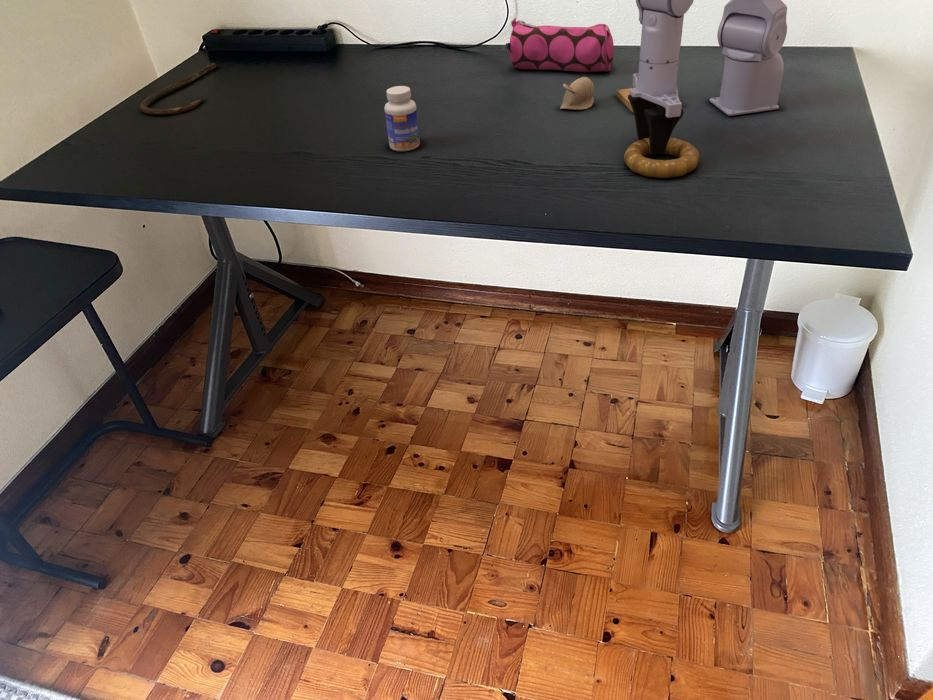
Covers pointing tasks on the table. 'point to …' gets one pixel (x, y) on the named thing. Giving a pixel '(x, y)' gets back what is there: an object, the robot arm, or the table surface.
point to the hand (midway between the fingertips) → (651, 145)
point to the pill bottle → (401, 119)
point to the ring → (662, 167)
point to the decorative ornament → (578, 94)
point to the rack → (626, 97)
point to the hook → (169, 90)
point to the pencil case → (561, 47)
